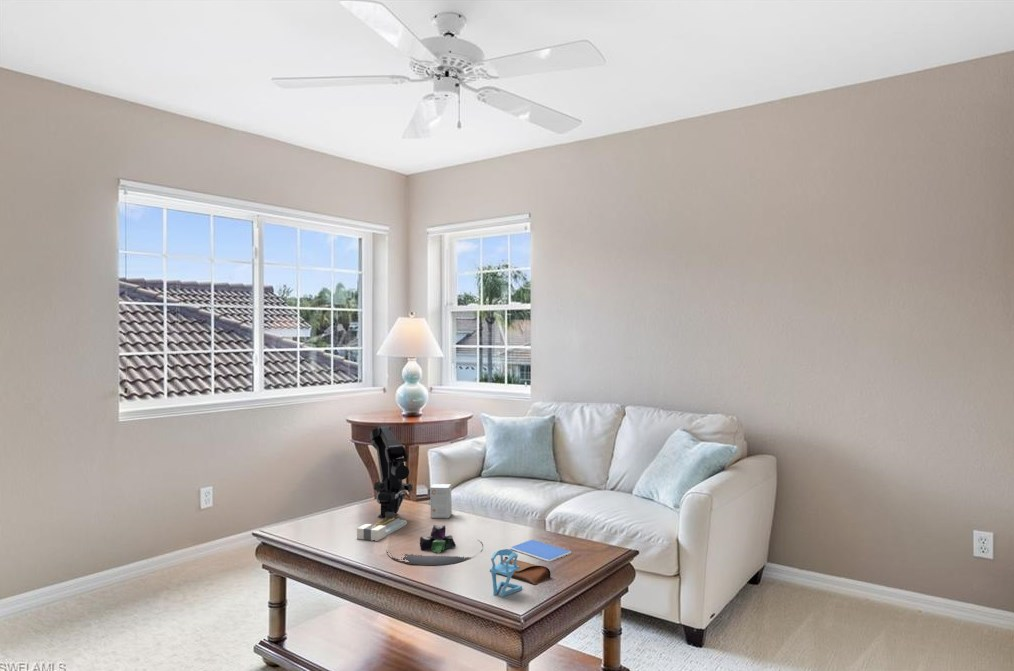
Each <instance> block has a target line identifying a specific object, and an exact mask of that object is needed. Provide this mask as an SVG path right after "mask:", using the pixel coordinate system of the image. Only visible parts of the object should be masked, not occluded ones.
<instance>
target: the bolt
mask: <svg viewBox="0 0 1014 671" xmlns="http://www.w3.org/2000/svg"><path fill="white" fill-rule="evenodd" d="M394 519H395V516H394V511H386V512H385V518H382V520H380V521H378V522H376V523H375V524H374V525H375V526H376V527H377V526H379V525H382V526H384V525H386V524H388V523H390V522H392V521H393V520H394Z"/></svg>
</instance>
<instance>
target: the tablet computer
mask: <svg viewBox="0 0 1014 671" xmlns="http://www.w3.org/2000/svg"><path fill="white" fill-rule="evenodd" d="M509 550H512V551H514V552H517V553H520V554H523V555H526V556H529V557H532V558H536V559H538V560H541V561H544V562H547V563H551V562H554V561H556V560H559V559H562V558H564V557H566V555H567V556H570V555H572V551H571V550H569V549H568V550H567V549H564V548H562V547H557V546H554V545H552V544H549V543H545V542H543V541H539V540H535V539H528V540H526V541H524V542H522V543H521V542H520V543H519V544H515V545H513V546H510V547H509ZM561 557H562V558H561Z"/></svg>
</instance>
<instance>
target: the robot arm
mask: <svg viewBox="0 0 1014 671" xmlns="http://www.w3.org/2000/svg"><path fill="white" fill-rule="evenodd" d="M391 430H392V429H391V426H390V425H379V426H377V428H373V429H372V430H371V431H370V432H369V440H370V441H371V445H372V447H373V448H374V449H375V450H376V452H377V453H376V454H377V462H378V467H379V474H380V479H381V480H380V481H376V482H375V483H374V484H373V485H374V487H373V490H375V491H376V492H377V493H376V497H375V498H376V502H377V503H378V504H379V505H380V514H379V515H377V518H382V519H385V512H386V511H394V517H396V516H398V515H399V513H398V512H399V510H400V508H401V505H402V504H403V501H404V499H405V496H407V495H406V493H404V491H407V492H408V493H410V492H413V485H412V484H411V483H406V482H405V483H403V480H406V479H407V478H408V477H409V474H410V470H409V467H407V465H405V462H408V454H407V449H406V448H405V446H404V445H403V443H402V442H401V441H399V440H397V439H396V437H395V436H394V434H393V431H391Z"/></svg>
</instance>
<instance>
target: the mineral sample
mask: <svg viewBox="0 0 1014 671" xmlns="http://www.w3.org/2000/svg"><path fill="white" fill-rule="evenodd" d="M477 541H479V542H480V544H481V545H482V547H484V544H483V542H482V541H480V540H479V539H477ZM456 546H457V544H456V543H455V540H454V538H453V536H452V535H451V534H450V535H446V525H436V524H433V525H432V529H431V532H430V536H420V538H419V547H420V550H422V551H423V550H424V551H425V550H430V551H432V552H434V553H437V554H440V553H441V552H442V551H444V550H445V549H450V548H453V547H454V548H455V547H456ZM481 551H483V548H482V549H481ZM387 553H388V552H387V551H386V554H387ZM402 555H404V556H405V555H406V556H407V557H406V556H405V557H404V558H403V560H405V559H406V560H408V561H409V562H405V561H398V560H399V558H396V557H392V558H391V557H390V556H389V555H388V554H387V556H388V557H389V558H391V559H392V560H393V561H396V562H400V563H404V564H406V565H419V566H439V565H440V566H442V565H443V566H444V565H454V564H457V563H460V562H464V561H467V560H471V559H472V558H473V557H472V556H466V557H465V556H458V555H457V556H454V555H452V556H450V555H448V556H446V555H423V554H413V553H412V554H411V553H410V554H408V553H404V554H401V556H402Z"/></svg>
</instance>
